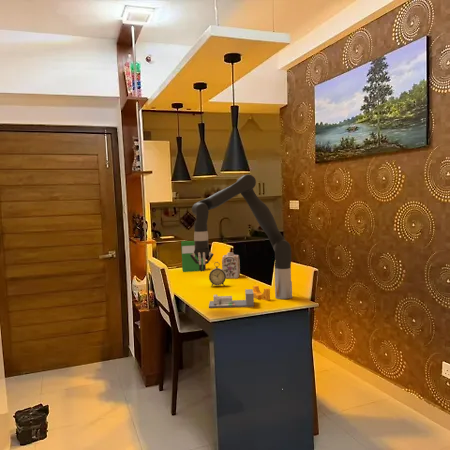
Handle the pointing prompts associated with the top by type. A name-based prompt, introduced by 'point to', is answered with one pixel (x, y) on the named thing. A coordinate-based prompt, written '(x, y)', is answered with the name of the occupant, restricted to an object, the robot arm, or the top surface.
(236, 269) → the decorative jar
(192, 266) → the hardback book
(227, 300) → the block
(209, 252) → the robot arm
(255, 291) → the pipe clamp
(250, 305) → the base
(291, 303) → the top surface
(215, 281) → the alarm clock
